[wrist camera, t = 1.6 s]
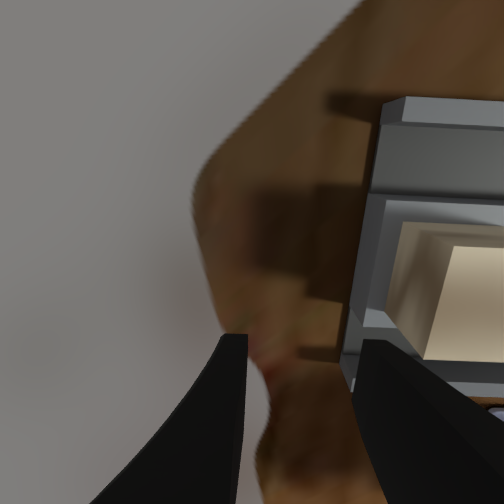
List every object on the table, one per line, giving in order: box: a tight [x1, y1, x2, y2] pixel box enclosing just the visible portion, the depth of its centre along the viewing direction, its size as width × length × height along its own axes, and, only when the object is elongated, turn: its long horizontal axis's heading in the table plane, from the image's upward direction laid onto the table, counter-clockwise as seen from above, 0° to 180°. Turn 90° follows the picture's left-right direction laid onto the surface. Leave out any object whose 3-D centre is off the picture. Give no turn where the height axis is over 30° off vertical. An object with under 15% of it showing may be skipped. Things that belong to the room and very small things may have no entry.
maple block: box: [384, 222, 504, 363], centre depth 14 cm, size 5×5×4 cm
